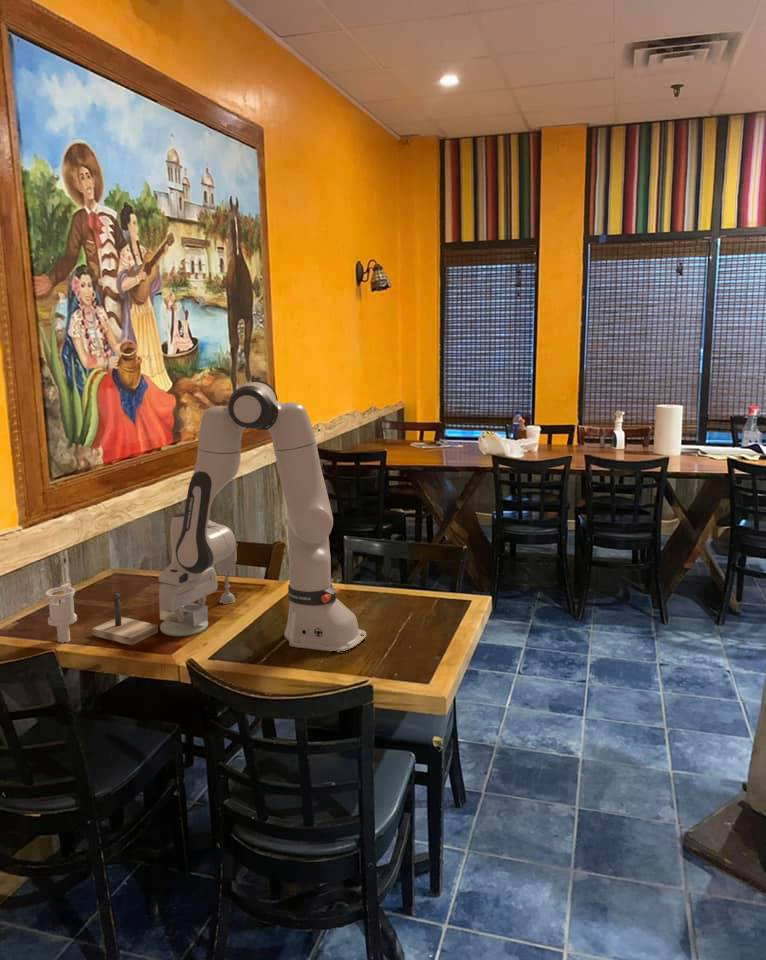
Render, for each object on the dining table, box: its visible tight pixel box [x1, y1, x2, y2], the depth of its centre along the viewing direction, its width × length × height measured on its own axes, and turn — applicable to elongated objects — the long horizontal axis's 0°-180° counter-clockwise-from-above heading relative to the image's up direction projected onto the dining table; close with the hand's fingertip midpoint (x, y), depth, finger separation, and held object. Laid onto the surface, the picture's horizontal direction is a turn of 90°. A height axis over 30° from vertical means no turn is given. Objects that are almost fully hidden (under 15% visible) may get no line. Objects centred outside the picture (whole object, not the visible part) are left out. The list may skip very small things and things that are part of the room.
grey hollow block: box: [158, 602, 209, 627], centre depth 211 cm, size 12×6×4 cm, turn 64°
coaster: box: [159, 620, 209, 637], centre depth 212 cm, size 13×13×1 cm
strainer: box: [45, 582, 78, 644], centre depth 201 cm, size 7×7×15 cm
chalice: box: [216, 542, 239, 605], centre depth 230 cm, size 7×7×18 cm
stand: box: [91, 592, 159, 646], centre depth 206 cm, size 14×10×11 cm
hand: (190, 616), depth 210 cm, fingers closed on grey hollow block, 6 cm apart
